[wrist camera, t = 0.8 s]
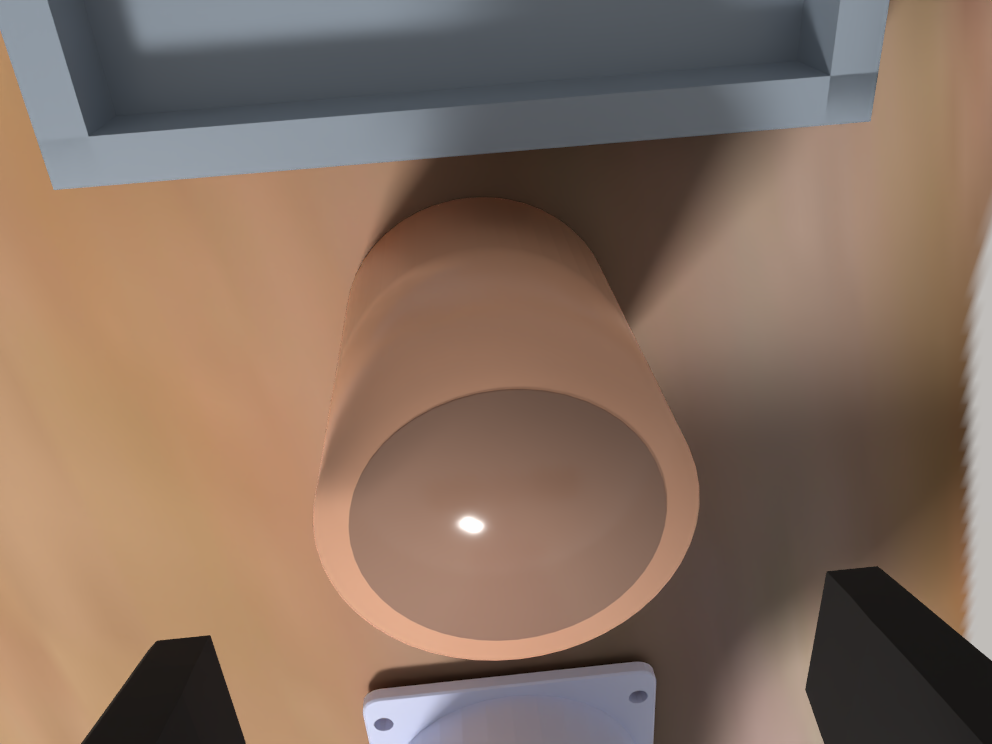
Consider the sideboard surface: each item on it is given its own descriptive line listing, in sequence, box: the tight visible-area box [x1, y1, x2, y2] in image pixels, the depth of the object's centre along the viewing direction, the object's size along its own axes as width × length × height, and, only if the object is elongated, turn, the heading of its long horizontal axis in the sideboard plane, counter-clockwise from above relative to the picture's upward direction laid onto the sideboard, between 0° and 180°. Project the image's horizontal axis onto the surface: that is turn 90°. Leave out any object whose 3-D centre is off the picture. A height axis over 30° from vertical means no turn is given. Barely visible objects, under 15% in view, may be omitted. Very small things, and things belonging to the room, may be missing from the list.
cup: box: [313, 197, 699, 661], centre depth 15 cm, size 6×6×6 cm
